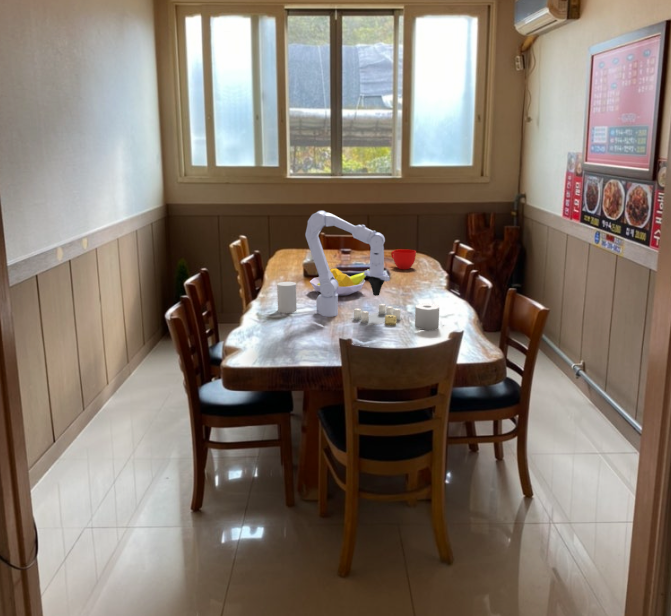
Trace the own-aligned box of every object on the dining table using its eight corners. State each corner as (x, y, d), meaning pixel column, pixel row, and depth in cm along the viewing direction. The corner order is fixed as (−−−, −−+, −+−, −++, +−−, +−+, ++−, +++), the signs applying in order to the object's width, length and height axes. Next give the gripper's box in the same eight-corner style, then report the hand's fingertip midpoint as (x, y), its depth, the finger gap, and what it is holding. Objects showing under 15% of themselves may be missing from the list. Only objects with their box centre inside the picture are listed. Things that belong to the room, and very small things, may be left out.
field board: (350, 320, 266) (350, 318, 266) (382, 314, 276) (382, 312, 276) (370, 327, 256) (370, 325, 256) (402, 320, 266) (402, 319, 265)
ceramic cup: (399, 264, 384) (399, 247, 381) (420, 268, 371) (420, 251, 369) (383, 266, 376) (383, 249, 373) (404, 271, 363) (404, 253, 361)
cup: (299, 308, 284) (298, 282, 281) (292, 313, 277) (292, 286, 274) (281, 307, 286) (281, 281, 283) (275, 312, 279) (274, 285, 276)
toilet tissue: (435, 321, 265) (435, 301, 263) (439, 330, 252) (440, 309, 250) (413, 321, 265) (413, 301, 263) (416, 330, 252) (417, 309, 250)
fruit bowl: (304, 297, 304) (303, 274, 301) (319, 285, 330) (319, 263, 327) (362, 301, 298) (362, 277, 295) (373, 288, 323) (373, 266, 320)
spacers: (352, 318, 266) (352, 309, 265) (382, 312, 275) (382, 303, 274) (371, 325, 256) (371, 315, 255) (401, 319, 265) (402, 309, 264)
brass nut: (382, 323, 259) (382, 316, 258) (390, 321, 262) (391, 314, 261) (390, 326, 256) (390, 319, 255) (398, 324, 259) (399, 317, 258)
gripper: (395, 264, 260) (395, 297, 263) (373, 259, 271) (373, 290, 275) (382, 266, 256) (381, 299, 260) (360, 261, 268) (359, 292, 271)
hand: (376, 295), depth 267 cm, fingers closed
